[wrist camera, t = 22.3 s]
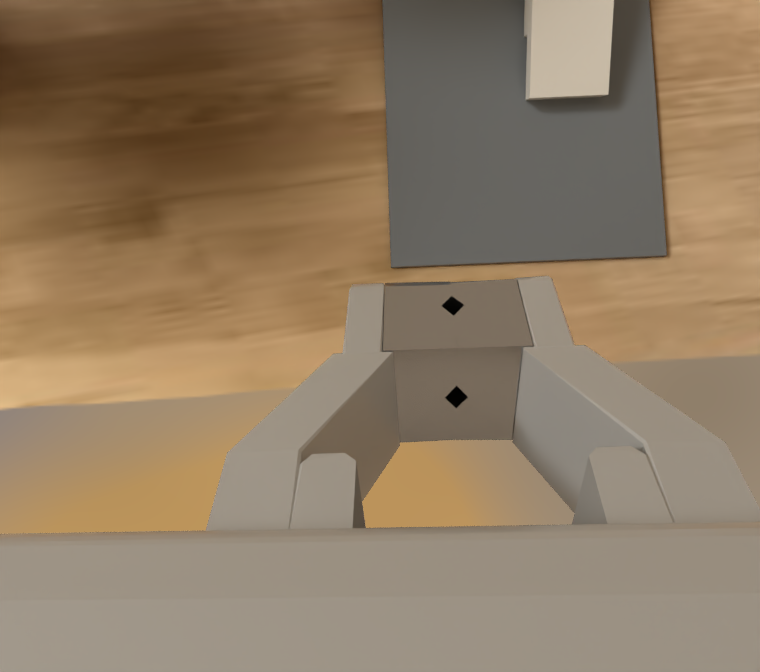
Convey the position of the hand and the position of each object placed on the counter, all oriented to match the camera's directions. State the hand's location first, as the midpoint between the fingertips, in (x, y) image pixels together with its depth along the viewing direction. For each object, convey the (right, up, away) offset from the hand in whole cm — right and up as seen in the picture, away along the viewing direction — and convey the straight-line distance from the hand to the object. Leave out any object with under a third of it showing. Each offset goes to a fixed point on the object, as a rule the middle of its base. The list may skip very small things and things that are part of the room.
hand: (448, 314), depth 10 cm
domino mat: (+8, +24, +33) cm, 41 cm away
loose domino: (+11, +15, +31) cm, 36 cm away
